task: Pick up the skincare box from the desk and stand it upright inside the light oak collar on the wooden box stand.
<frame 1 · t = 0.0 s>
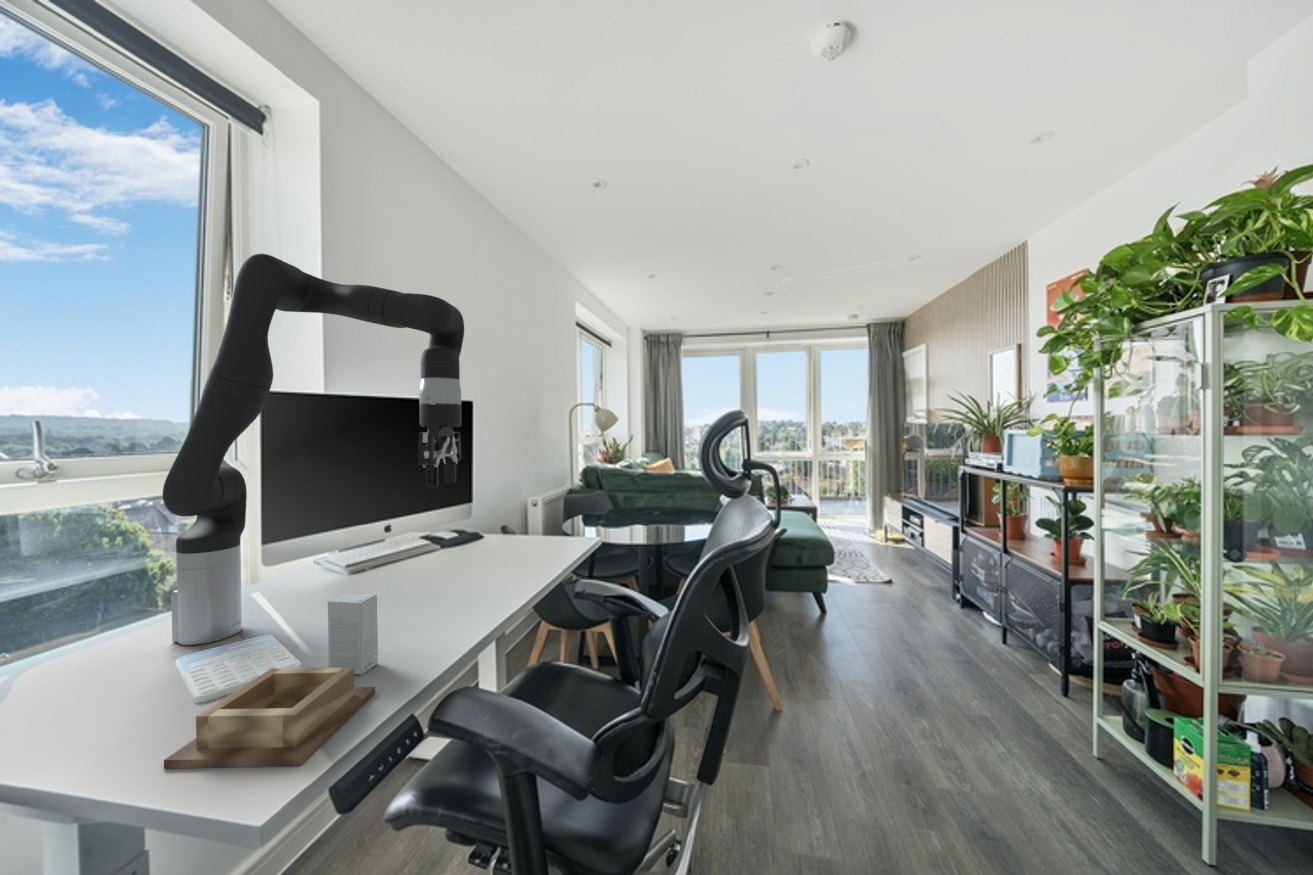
hand: (441, 485, 96), 29 cm above the table, tool pointing down, fingers open, 8 cm apart
calculator: (238, 671, 82), on the table
wooden box stand: (282, 726, 66), on the table
skincare box: (353, 669, 82), on the table
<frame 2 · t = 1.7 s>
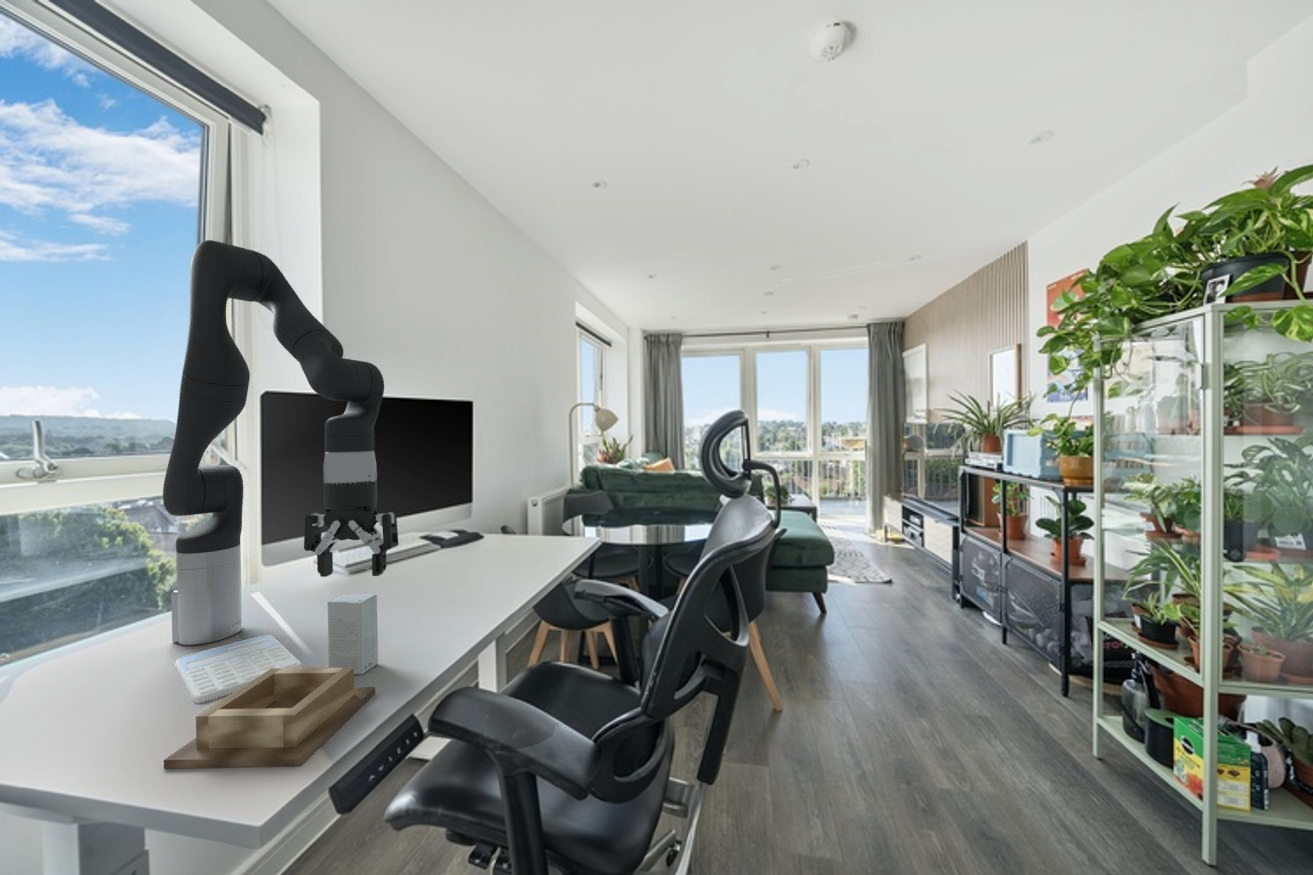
hand: (352, 575, 81), 16 cm above the table, tool pointing down, fingers open, 8 cm apart
nothing on the table moved.
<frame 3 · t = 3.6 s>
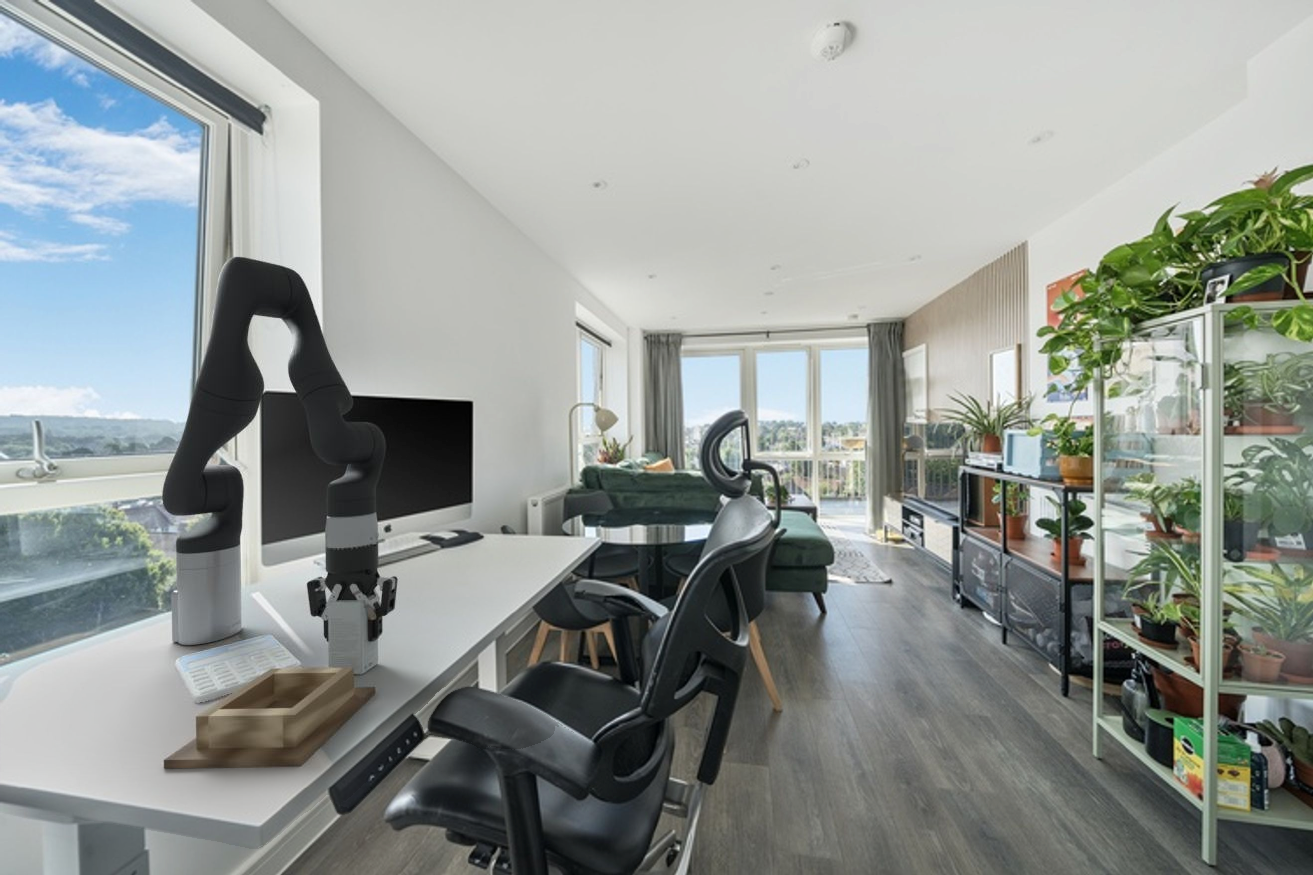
hand: (353, 639, 82), 5 cm above the table, tool pointing down, fingers closed on skincare box, 6 cm apart
skincare box: (353, 669, 82), on the table, touching gripper
everything else where it was.
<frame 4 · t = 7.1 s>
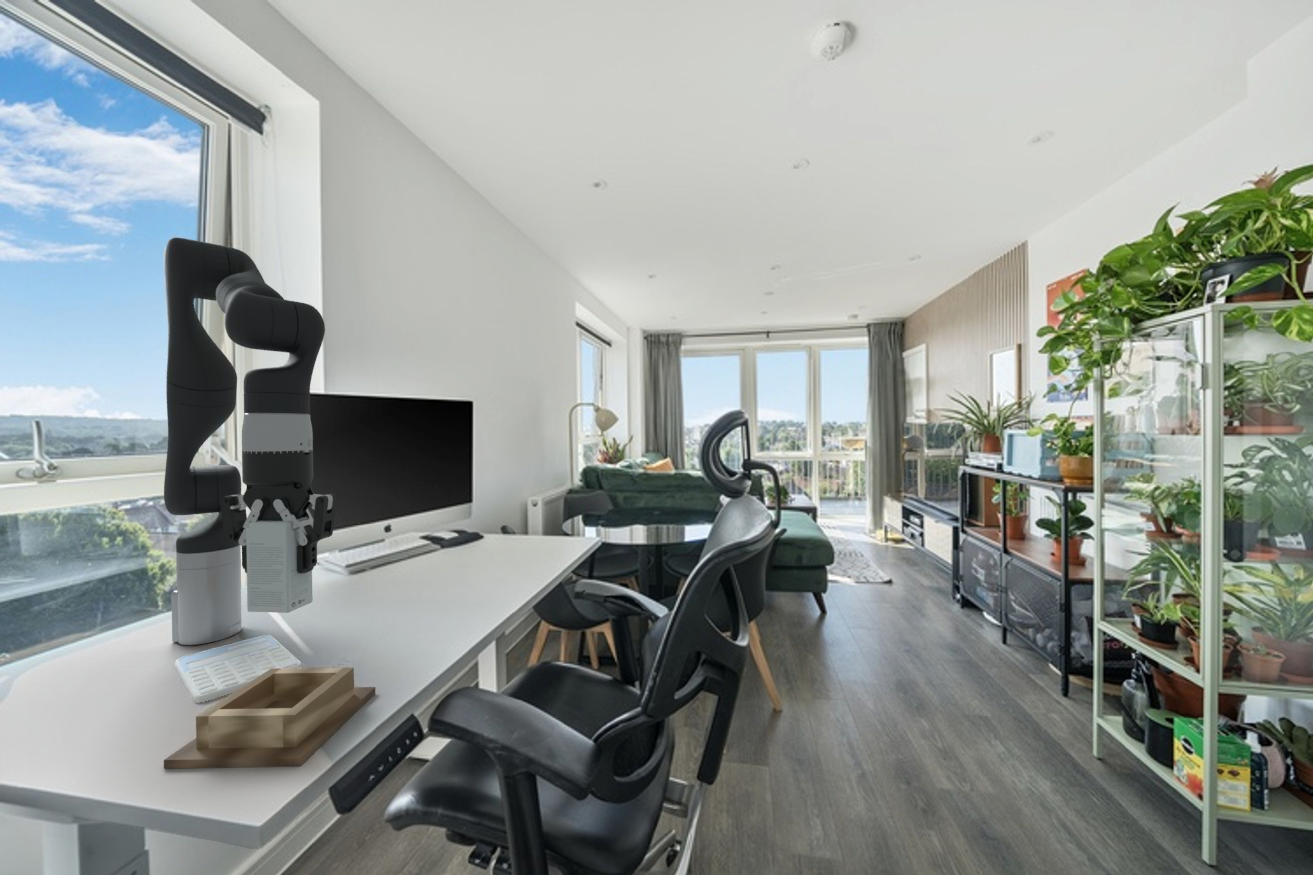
hand: (280, 571, 66), 21 cm above the table, tool pointing down, fingers closed on skincare box, 6 cm apart
skincare box: (280, 608, 66), point 16 cm above the table, touching gripper
everything else where it was.
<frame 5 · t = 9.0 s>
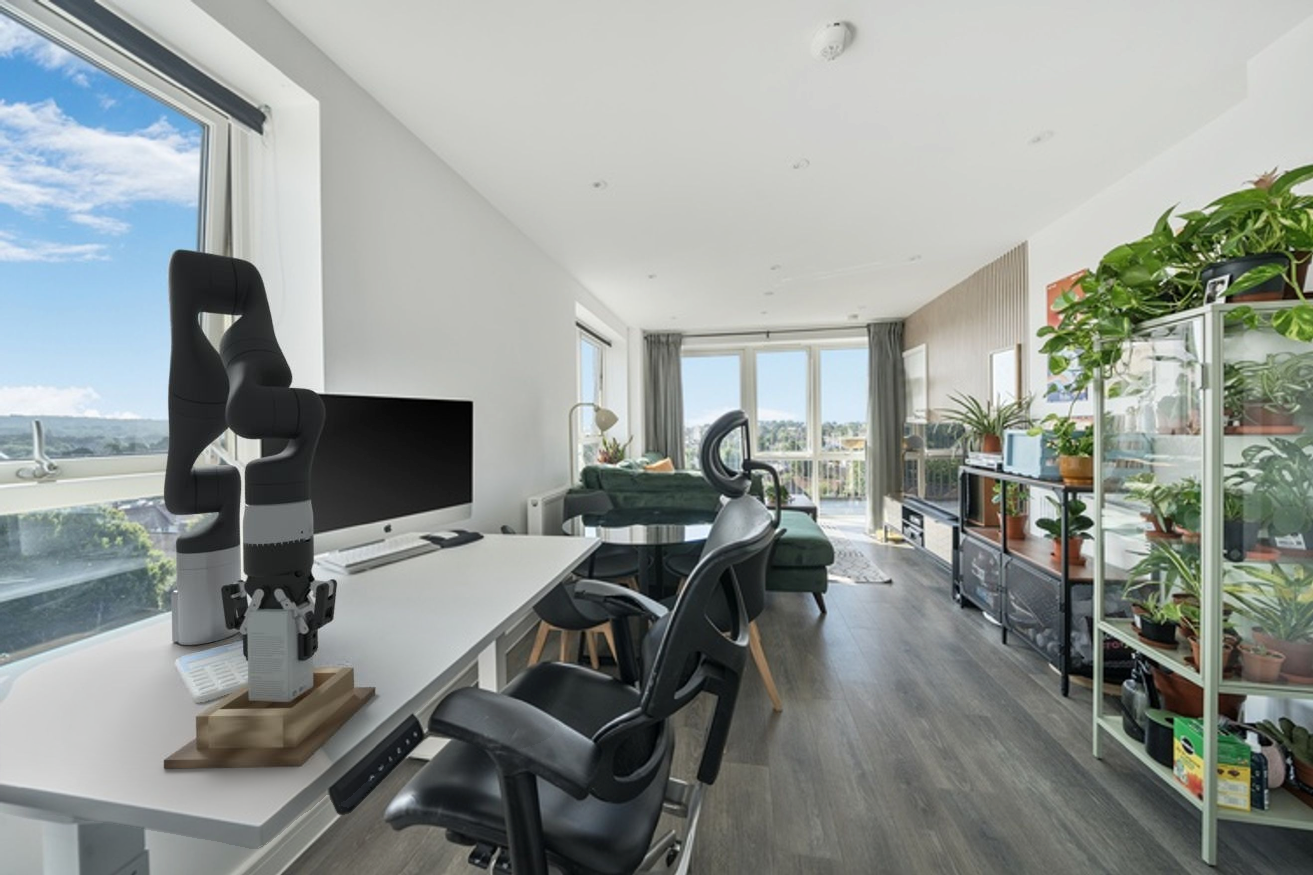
hand: (281, 657, 66), 9 cm above the table, tool pointing down, fingers closed on skincare box, 6 cm apart
skincare box: (281, 695, 66), point 4 cm above the table, touching gripper
everything else where it was.
when the fingers open (7 cm above the table, at t = 10.6 s): skincare box stays where it is, resting on wooden box stand.
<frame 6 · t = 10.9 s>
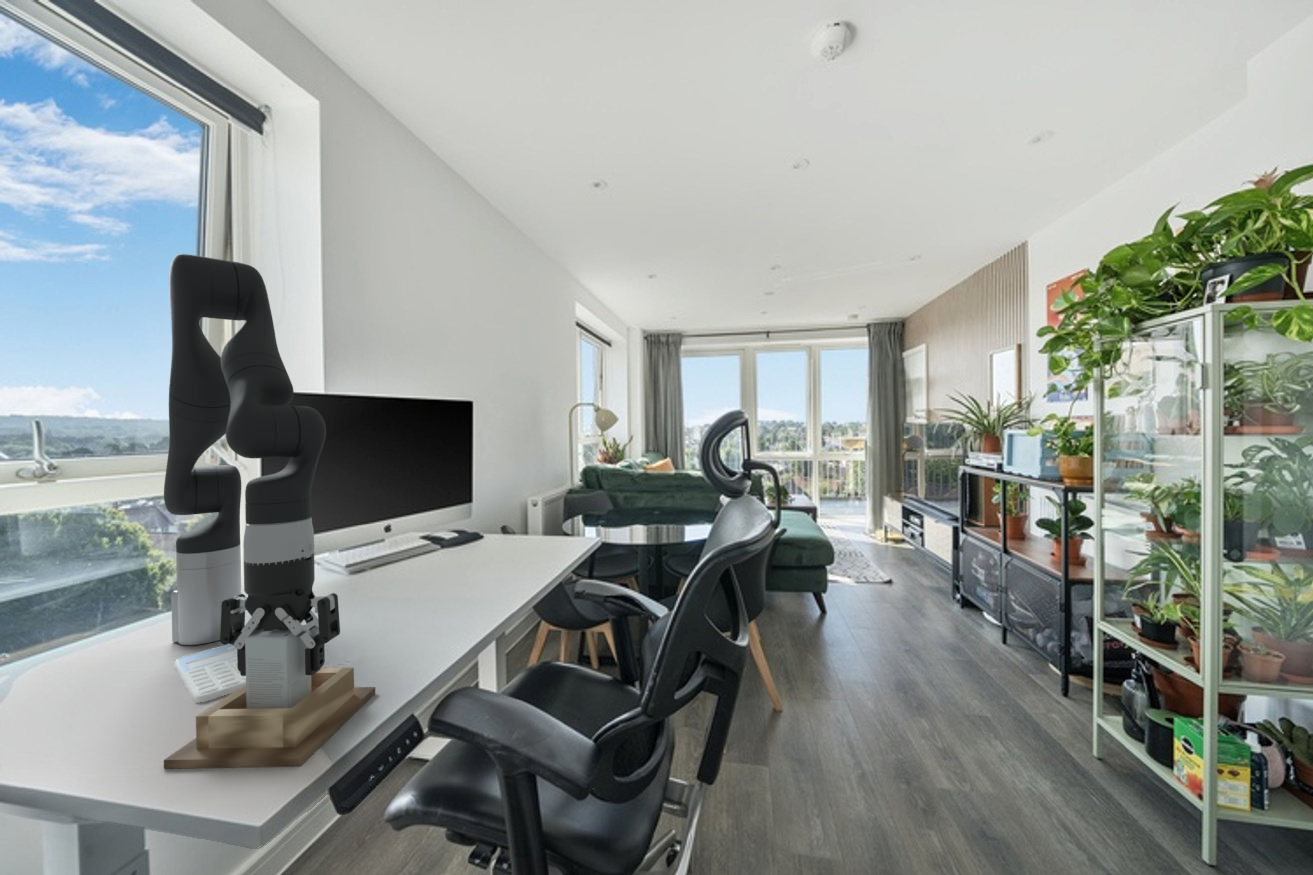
hand: (281, 672, 66), 7 cm above the table, tool pointing down, fingers open, 8 cm apart
skincare box: (279, 720, 66), point 1 cm above the table, touching wooden box stand
everything else where it was.
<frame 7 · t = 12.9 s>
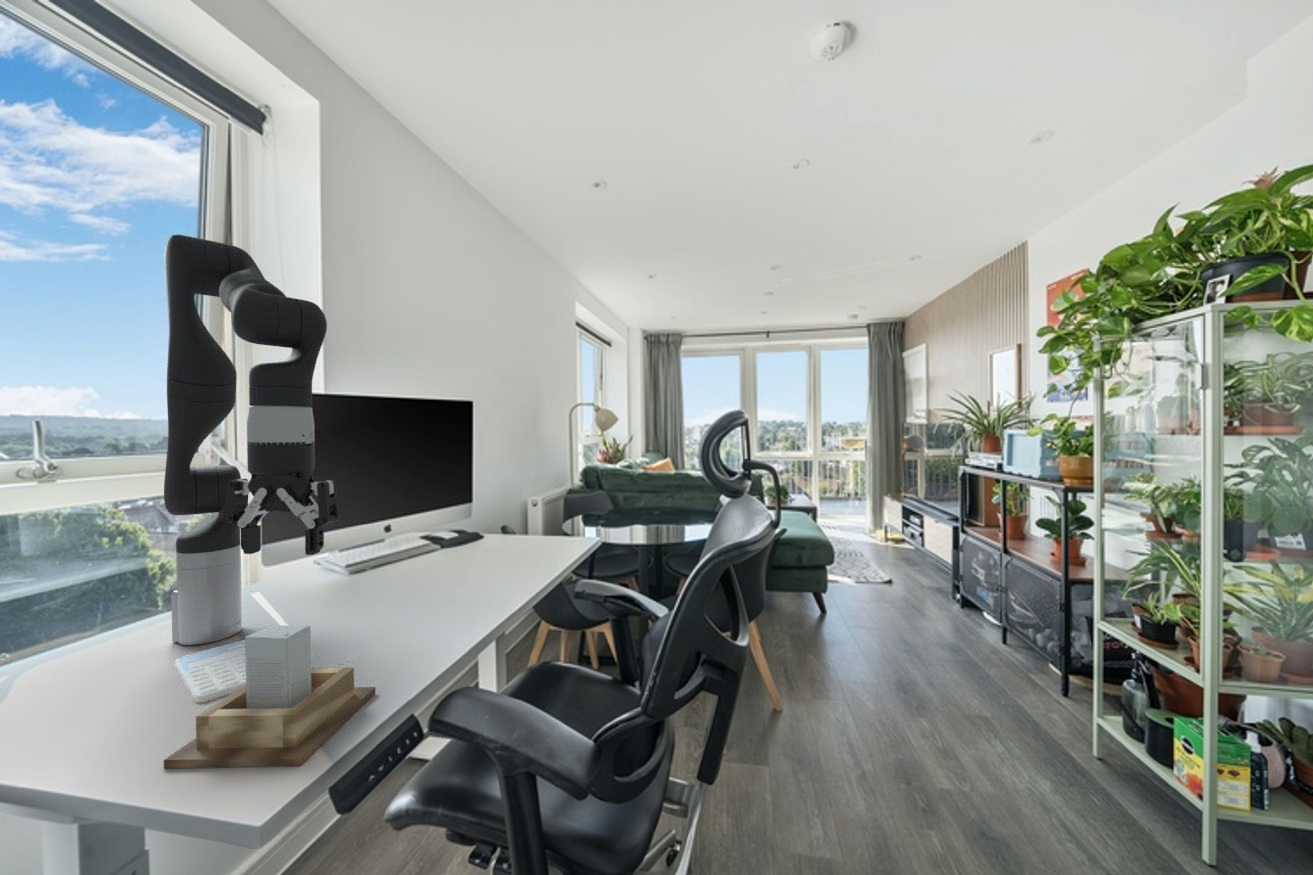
hand: (283, 553, 69), 23 cm above the table, tool pointing down, fingers open, 8 cm apart
nothing on the table moved.
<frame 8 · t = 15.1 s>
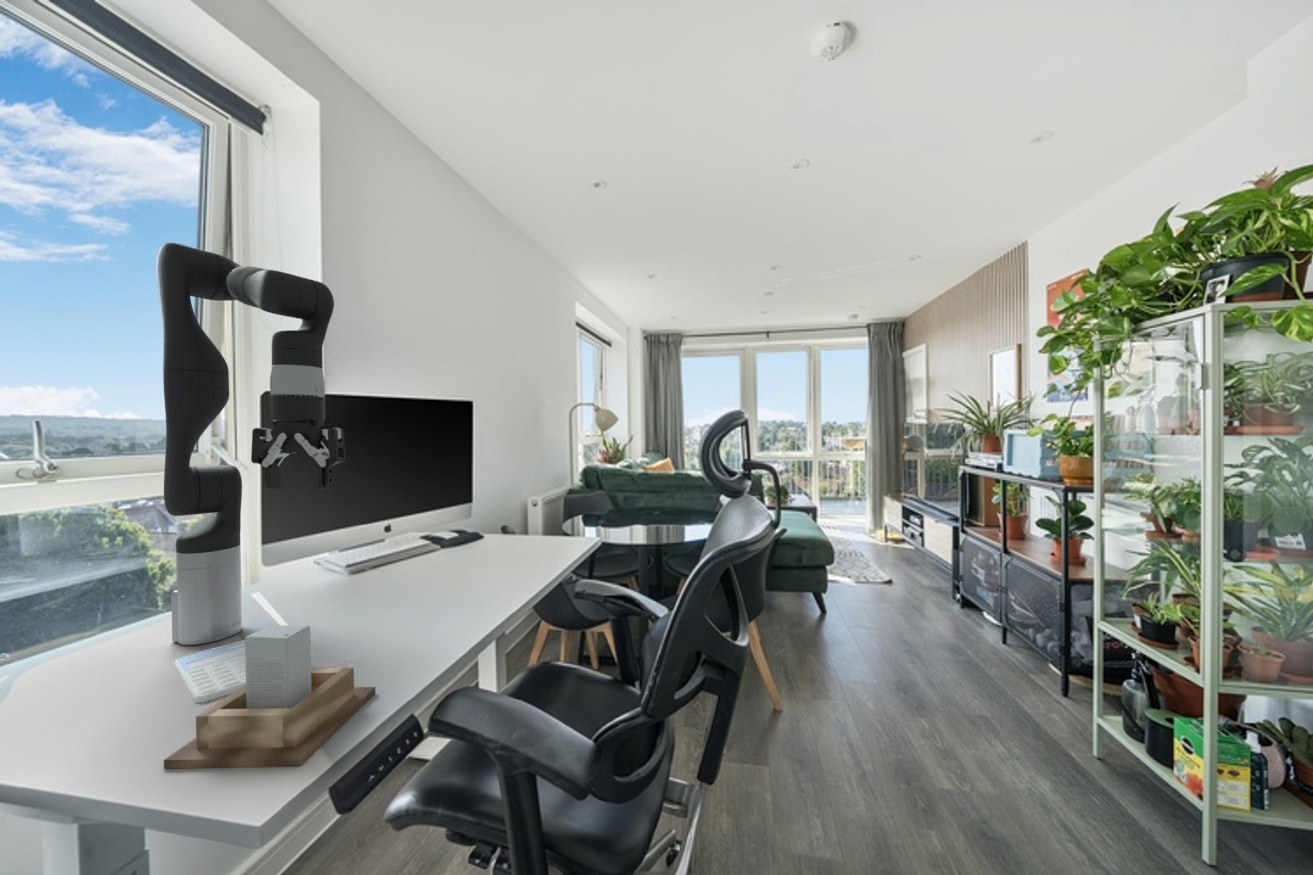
hand: (299, 488, 83), 30 cm above the table, tool pointing down, fingers open, 8 cm apart
nothing on the table moved.
at the end: skincare box 0.4 cm off-centre on the wooden box stand, point 0.8 cm above the wooden box stand's base; skincare box tilted 0°; the gripper is holding nothing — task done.
